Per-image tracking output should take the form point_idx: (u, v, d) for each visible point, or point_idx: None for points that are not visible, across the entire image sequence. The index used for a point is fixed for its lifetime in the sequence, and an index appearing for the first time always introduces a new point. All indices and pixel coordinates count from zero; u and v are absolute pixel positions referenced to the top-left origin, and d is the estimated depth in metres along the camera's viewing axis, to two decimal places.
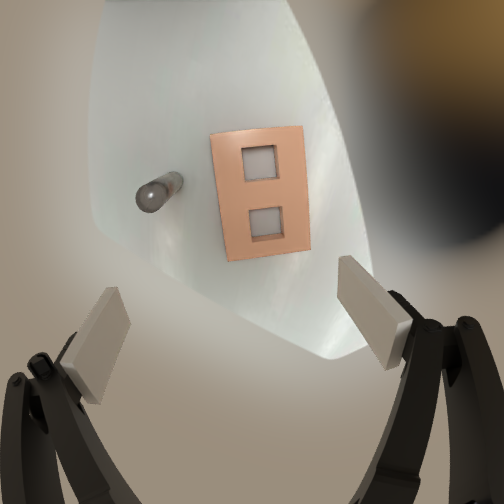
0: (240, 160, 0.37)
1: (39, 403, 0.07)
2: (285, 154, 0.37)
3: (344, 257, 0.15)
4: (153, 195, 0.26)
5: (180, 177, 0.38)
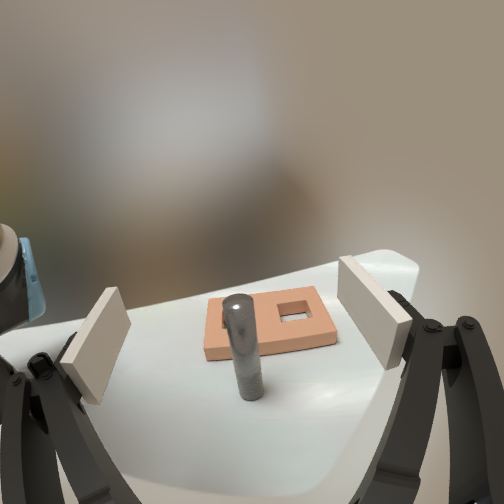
0: None
1: (39, 403, 0.07)
2: None
3: (344, 257, 0.15)
4: (235, 299, 0.26)
5: None
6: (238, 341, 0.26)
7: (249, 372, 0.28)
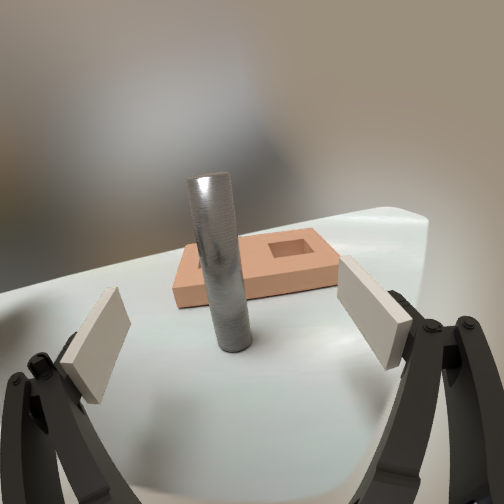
0: None
1: (39, 403, 0.07)
2: None
3: (344, 257, 0.15)
4: (204, 175, 0.18)
5: None
6: (208, 234, 0.18)
7: (228, 295, 0.20)
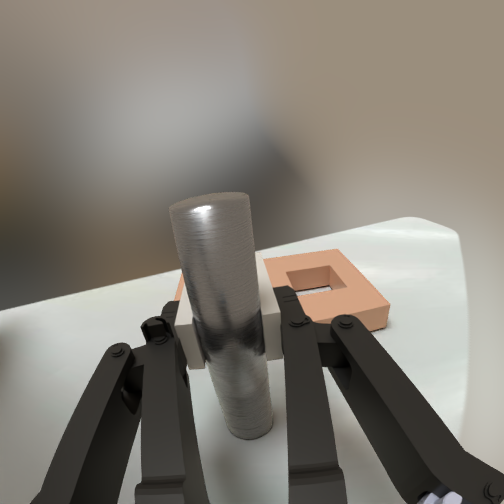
0: None
1: None
2: None
3: None
4: (203, 199, 0.10)
5: None
6: (211, 308, 0.10)
7: (244, 386, 0.12)
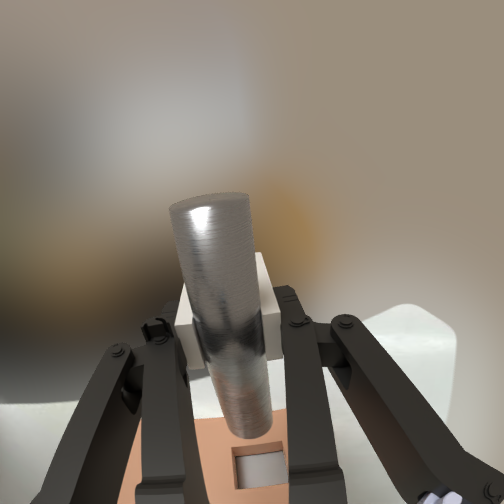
0: None
1: None
2: None
3: None
4: (203, 199, 0.10)
5: None
6: (211, 309, 0.10)
7: (244, 387, 0.12)
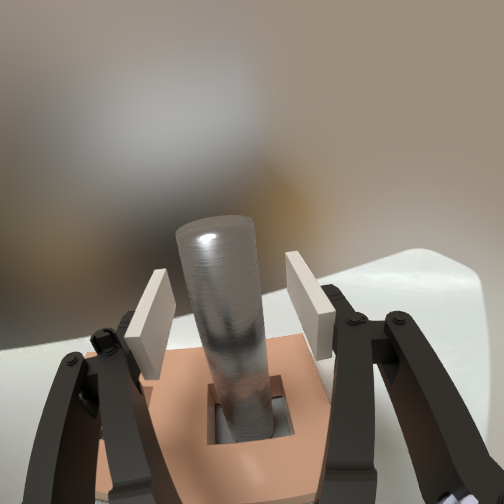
0: None
1: (98, 382, 0.09)
2: None
3: (290, 253, 0.16)
4: (208, 223, 0.11)
5: None
6: (217, 330, 0.10)
7: (247, 399, 0.12)
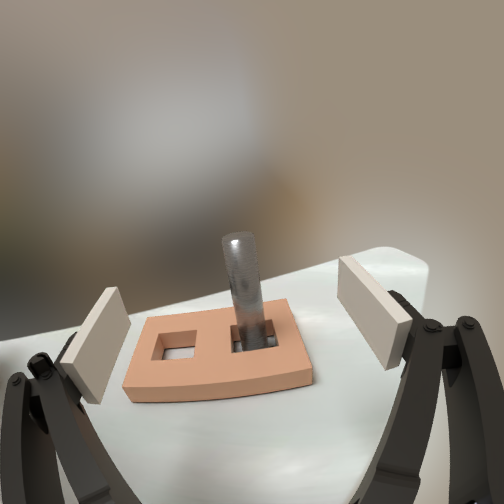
0: (164, 361, 0.27)
1: (39, 403, 0.07)
2: (171, 327, 0.32)
3: (344, 257, 0.15)
4: (234, 235, 0.26)
5: None
6: (239, 280, 0.25)
7: (253, 321, 0.27)
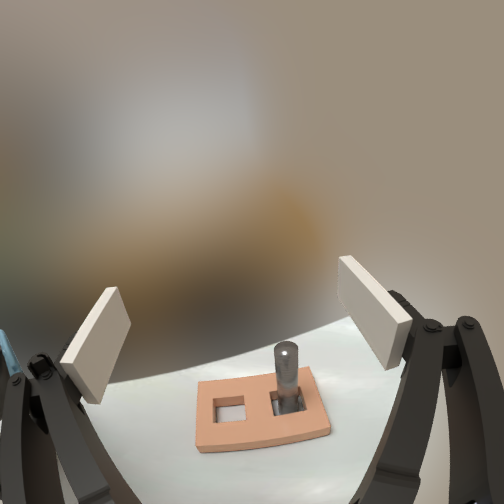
0: (224, 423, 0.34)
1: (39, 403, 0.07)
2: (221, 392, 0.40)
3: (344, 257, 0.15)
4: (283, 346, 0.33)
5: None
6: (285, 376, 0.33)
7: (290, 396, 0.34)
